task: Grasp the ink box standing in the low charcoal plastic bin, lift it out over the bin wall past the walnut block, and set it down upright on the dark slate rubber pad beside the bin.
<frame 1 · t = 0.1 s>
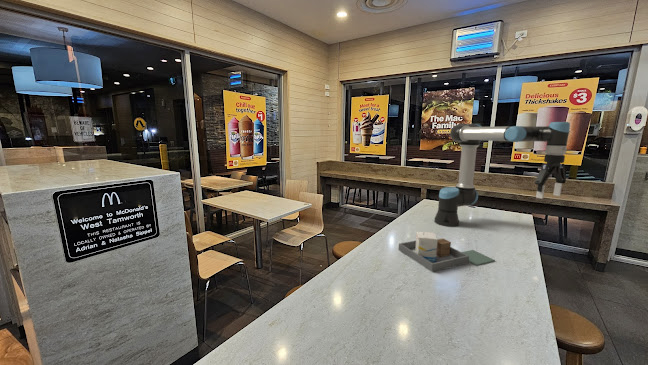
hand: (548, 196, 135), 28 cm above the table, fingers open, 13 cm apart
pad: (474, 257, 131), on the table
walnut block: (441, 254, 135), resting in bin
bin: (431, 256, 133), on the table
ink box: (425, 258, 131), resting in bin
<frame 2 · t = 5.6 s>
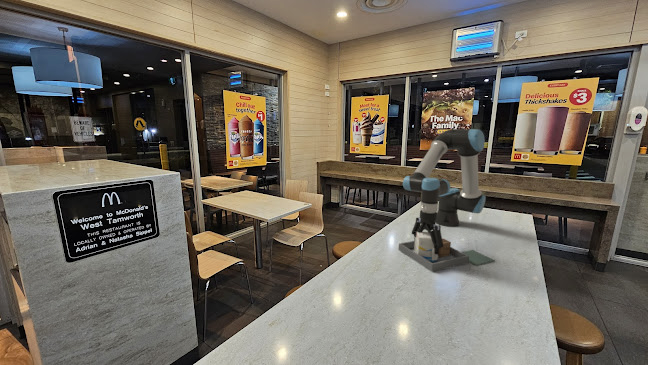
hand: (425, 254, 131), 2 cm above the table, fingers closed on ink box, 11 cm apart
ink box: (425, 258, 131), resting in bin, touching gripper
everything else where it was.
when the fingers open (4 cm above the table, at t = 12.2 s): ink box drops 2 cm, resting on pad.
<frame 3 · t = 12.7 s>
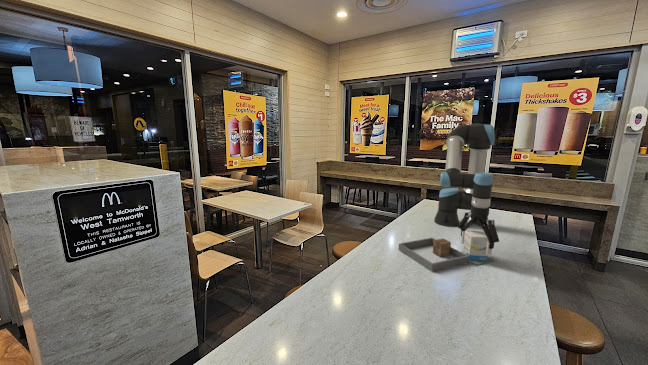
hand: (475, 248, 130), 5 cm above the table, fingers open, 13 cm apart
ink box: (474, 256, 131), resting on pad
everything else where it was.
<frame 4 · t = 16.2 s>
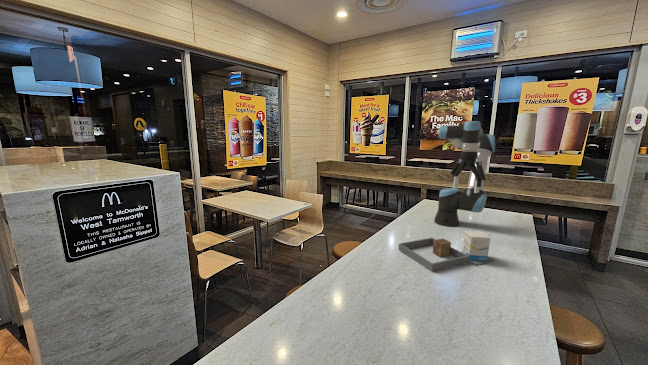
hand: (465, 190, 147), 29 cm above the table, fingers open, 13 cm apart
nothing on the table moved.
at the end: ink box inside the target area on the pad (0.2 cm from its centre), point 0.4 cm above the pad's base; ink box tilted 0°; the gripper is holding nothing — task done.
